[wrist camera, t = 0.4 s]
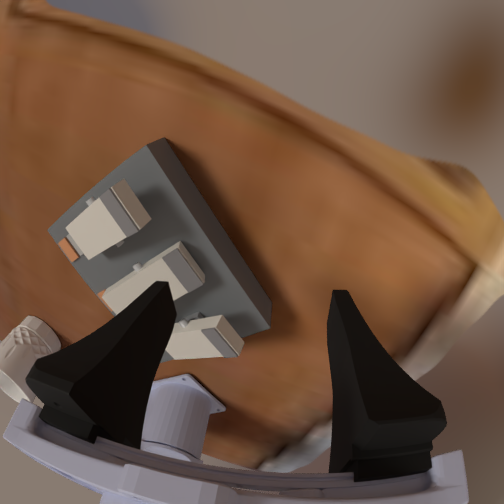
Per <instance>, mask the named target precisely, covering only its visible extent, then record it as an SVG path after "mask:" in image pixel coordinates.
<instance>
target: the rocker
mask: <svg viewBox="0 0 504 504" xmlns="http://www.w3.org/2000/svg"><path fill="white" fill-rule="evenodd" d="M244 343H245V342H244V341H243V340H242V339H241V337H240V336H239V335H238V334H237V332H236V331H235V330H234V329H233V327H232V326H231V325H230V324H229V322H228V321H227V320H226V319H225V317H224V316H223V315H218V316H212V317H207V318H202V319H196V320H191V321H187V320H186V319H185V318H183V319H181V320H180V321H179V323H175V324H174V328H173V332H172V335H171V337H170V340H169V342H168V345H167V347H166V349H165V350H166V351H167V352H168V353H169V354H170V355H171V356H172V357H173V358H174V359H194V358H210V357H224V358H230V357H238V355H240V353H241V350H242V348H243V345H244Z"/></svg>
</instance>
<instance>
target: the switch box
mask: <svg viewBox="0 0 504 504" xmlns="http://www.w3.org/2000/svg"><path fill="white" fill-rule="evenodd" d="M122 179H125V180H126V182H127V183H128V185H129V186H130V188H131V189H132V191H133V192H134V194H135V195H136V197H137V198H138V200H139V201H140V203H141V204H142V206H143V207H144V209H145V210H146V212H147V213H148V214H149V216H150V217H151V220H150V221H149V222H148V223H147V224H146V225H145V226H144V227H143V228H142V229H140V230H139V231H138V232H136V233H134V234H133V235H131V236H129V237H126V238H125V239H123V241H124V243H123V244H122V245H121V246H120V247H117V246H116V244H114V245H113V246H111V247H109V248H108V249H106V250H104V251H103V252H101V253H99V254H98V255H96V256H94V257H93V258H91V259H89V260H88V259H87V257H86V256H85V255H84V253H83V252H82V251H81V249H80V248H79V247H78V245H77V244H76V242H75V241H74V240H73V238H72V237H71V235H70V234H69V233H68V231H67V230H66V227H67V226H68V225H69V224H70V223H71V222H72V221H73V220H74V219H75V218H76V217H78V216H79V215H80V214H81V213H82V212H83V211H84V210H85V209H86V208H88V207H89V206H88V204H87V203H86V201H87V200H89V199H90V198H91V197H94V199H95V200H97V199H98V198H99V197H100V196H101V195H102V194H103V193H105V192H106V191H107V190H108V189H109V188H111V187H112V186H114V185H115V184H117V183H118V182H119V181H121V180H122ZM48 232H49V233H50V235H51V236H52V237H53V239H54V240H55V242H56V243H57V245H58V246H59V247H60V249H61V250H62V252H63V253H64V254H65V256H66V257H67V258H68V260H69V261H70V262H71V264H72V265H73V266H74V268H75V269H76V270H77V272H78V273H79V274H80V275H81V277H82V278H83V279H84V281H85V282H86V283H87V284H88V286H89V287H90V288H91V289H92V291H93V292H94V293H95V294H96V295H97V297H98V298H99V299H100V300H101V301H102V303H103V304H104V305H105V306H106V307H107V308H108V310H109V311H110V312H111V313H112V314H113V315H114V316H116V314H115V313H114V311H113V310H112V309H111V308H110V307H109V306H108V304H107V303H106V302H105V301H104V300H103V298H102V296H103V294H104V292H105V291H106V289H107V288H109V287H110V286H112V285H113V284H115V283H116V282H118V281H119V280H121V279H122V278H124V277H125V276H127V275H128V274H130V273H131V272H133V271H134V268H133V265H134V264H135V263H137V262H140V263H141V265H143V264H145V263H146V262H148V261H149V260H151V259H152V258H154V257H156V256H157V255H159V254H160V253H162V252H163V251H165V250H166V249H168V248H170V247H171V246H173V245H174V244H176V243H177V242H179V241H181V242H182V244H183V245H184V246H185V248H186V249H187V251H188V252H189V253H190V255H191V256H192V258H193V259H194V260H195V262H196V263H197V265H198V266H199V267H200V269H201V270H202V271H203V273H204V274H205V283H203V285H202V286H200V287H198V288H196V289H195V290H193V291H191V292H190V293H186V294H184V295H183V296H181V297H179V298H177V299H176V300H174V305H175V308H176V312H177V316H176V320H175V323H179V321H180V320H181V319H183V318H185V319H186V320H187V321H191V320H196V319H202V318H207V317H212V316H218V315H223V316H224V317H225V319H226V320H227V321H228V322H229V324H230V325H231V326H232V327H233V329H234V330H235V331H236V332H237V334H238V335H239V336H240V337H241V338H243V337H246V336H249V335H252V334H255V333H258V332H261V331H263V330H266V329H269V328H271V312H272V302H271V300H270V299H269V297H268V296H267V294H266V293H265V291H264V290H263V288H262V287H261V285H260V284H259V282H258V281H257V279H256V278H255V276H254V275H253V273H252V272H251V270H250V269H249V267H248V266H247V264H246V263H245V261H244V259H243V258H242V256H241V255H240V253H239V252H238V250H237V249H236V247H235V246H234V244H233V243H232V241H231V240H230V238H229V237H228V235H227V234H226V232H225V230H224V229H223V227H222V226H221V224H220V223H219V221H218V220H217V218H216V217H215V215H214V214H213V212H212V211H211V209H210V207H209V206H208V204H207V203H206V201H205V200H204V198H203V197H202V195H201V194H200V192H199V190H198V189H197V187H196V186H195V184H194V183H193V181H192V180H191V178H190V177H189V175H188V173H187V172H186V170H185V169H184V167H183V166H182V164H181V163H180V161H179V159H178V158H177V156H176V155H175V153H174V152H173V150H172V149H171V147H170V145H169V144H168V142H167V141H166V139H165V138H161V139H159V140H156V141H154V142H152V143H149V144H147V145H145V146H144V147H143V148H141V149H140V150H139V151H137V152H136V153H135V154H133V155H132V156H131V157H130V158H128V159H127V160H126V161H124V162H123V163H122V164H121V165H119V166H118V167H117V168H116V169H114V170H113V171H112V172H111V173H109V174H108V175H107V176H106V177H105V178H103V179H102V180H101V181H100V182H99V183H98V184H96V185H95V186H94V187H93V188H92V189H91V190H89V191H88V192H87V193H86V194H85V195H84V196H83V197H82V198H80V199H79V200H78V201H77V202H76V203H75V204H74V205H73V206H72V207H71V208H69V209H68V210H67V211H66V212H65V213H64V214H63V215H62V216H61V217H60V218H59V219H58V220H57V221H56V222H55V223H54V224H53V225H52V226H51V227H50V228H49V229H48ZM172 359H174V358H173V357H172V356H171V355H170V354H169V353H168V352H167V351H166V350H165V352H164V354H163V357H162V359H161V362H165V361H169V360H172ZM161 362H160V363H161Z"/></svg>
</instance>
